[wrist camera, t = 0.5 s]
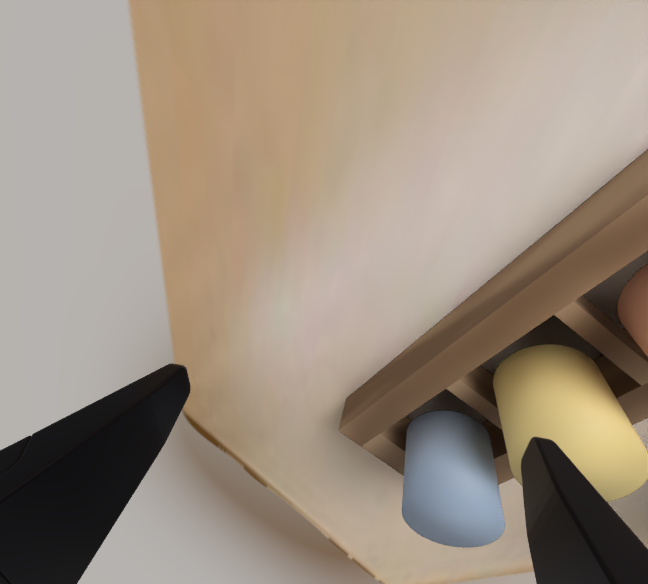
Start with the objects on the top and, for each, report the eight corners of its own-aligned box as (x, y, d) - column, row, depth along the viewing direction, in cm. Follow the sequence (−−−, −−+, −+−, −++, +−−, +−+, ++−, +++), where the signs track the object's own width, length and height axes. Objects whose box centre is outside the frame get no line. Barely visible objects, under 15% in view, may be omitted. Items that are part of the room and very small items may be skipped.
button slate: (509, 443, 22) (528, 530, 18) (448, 475, 25) (452, 556, 21) (446, 397, 21) (450, 475, 17) (390, 434, 24) (382, 509, 20)
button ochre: (624, 385, 18) (683, 476, 14) (538, 429, 21) (565, 517, 17) (552, 327, 18) (590, 404, 14) (472, 380, 20) (484, 458, 16)
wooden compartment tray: (848, 259, 16) (925, 293, 14) (447, 469, 29) (448, 506, 26) (694, 111, 15) (747, 118, 12) (346, 398, 28) (338, 430, 25)
